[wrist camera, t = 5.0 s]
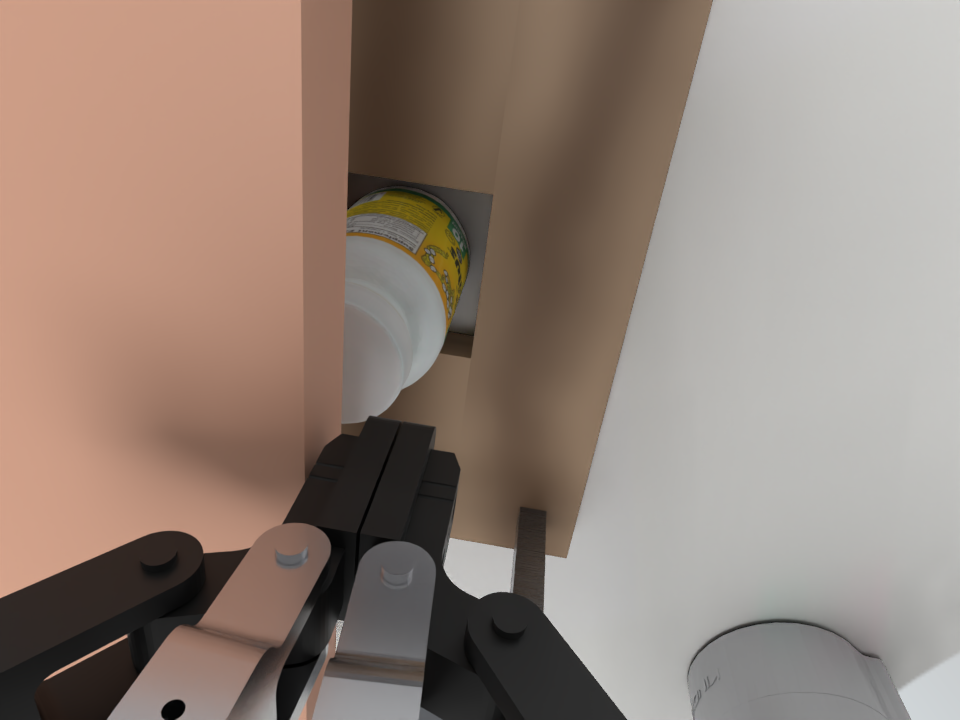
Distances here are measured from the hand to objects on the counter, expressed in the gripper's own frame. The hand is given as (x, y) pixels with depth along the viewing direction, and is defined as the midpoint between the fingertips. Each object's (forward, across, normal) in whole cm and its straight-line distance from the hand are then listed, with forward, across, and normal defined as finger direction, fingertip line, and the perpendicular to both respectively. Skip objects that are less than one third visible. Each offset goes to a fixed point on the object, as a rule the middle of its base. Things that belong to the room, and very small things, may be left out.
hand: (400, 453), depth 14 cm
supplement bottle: (+13, +3, 0) cm, 14 cm away
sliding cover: (+1, +6, 0) cm, 6 cm away
